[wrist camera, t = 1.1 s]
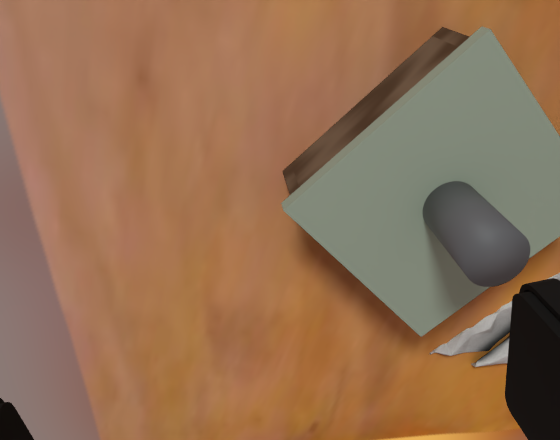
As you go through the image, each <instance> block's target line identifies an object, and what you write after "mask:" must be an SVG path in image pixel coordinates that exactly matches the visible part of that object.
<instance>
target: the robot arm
mask: <svg viewBox="0 0 560 440" xmlns="http://www.w3.org/2000/svg"><path fill="white" fill-rule="evenodd" d="M505 398H506V403H507V406H508V408H509V410H510V412H511V414H512V416H513V417H514V419H515V420H516V422H517V423H518V425H519V426H520V428H521V429H522V431H523V432H524V434H525V436H526V437H527V439H528V440H560V280H558V279H555V278H551V279H547V280H542V281H537V282H532V283H528V284H524V285H522V287H521V288H520V292H519V294H515V295H514V296H513V299H512V310H511V323H510V336H509V349H508V361H507V374H506V387H505ZM0 440H34V439H33V437H32V435H31V434H30V433H29V430H28V429H27V427H26V425H25V424H24V422H23V420H22V419H21V417H20V415H19V414H18V412H17V410H16V409H15V407H14V406H13V405H12V403H10V402H4V401H3V400H2V399H1V398H0Z"/></svg>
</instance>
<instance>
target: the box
mask: <svg viewBox="0 0 560 440" xmlns="http://www.w3.org/2000/svg"><path fill="white" fill-rule="evenodd" d="M468 38H469V36H466V35H463V34H460V33H458V32H455V31H452V30H449V29H447V28H444V27H442V28H441V29H440V30H439V31H438V32H436V33H435V34H434V35H433V36H432V37H431V38H430V39H429V40H428V41H427V42H425V43H424V44H423V45H422V46H421V47H420V48H419V49H418V50H417V51H415V52H414V53H413V54H412V55H411V56H410V57H409V58H408V59H407V60H405V61H404V62H403V63H402V64H401V65H400V66H399V67H398V68H397V69H395V70H394V71H393V72H392V73H391V74H390V75H389V76H388V77H387V78H386V79H384V80H383V81H382V82H381V83H380V84H379V85H378V86H377V87H376V88H374V89H373V90H372V91H371V92H370V93H369V94H368V95H367V96H366V97H364V98H363V99H362V100H361V101H360V102H359V103H358V104H357V105H356V106H354V107H353V108H352V109H351V110H350V111H349V112H348V113H347V114H346V115H344V116H343V117H342V118H341V119H340V120H339V121H338V122H337V123H336V124H335V125H333V126H332V127H331V128H330V129H329V130H328V131H327V132H326V133H325V134H323V135H322V136H321V137H320V138H319V139H318V140H317V141H316V142H315V143H313V144H312V145H311V146H310V147H309V148H308V149H307V150H306V151H305V152H303V153H302V154H301V155H300V156H299V157H298V158H297V159H296V160H295V161H293V162H292V163H291V164H290V165H289V166H288V167H287V168H286V169H285V170H284V171H283V174H284V177H285V181H286V184H287V187H288V190H289V193H290V195H291V194H292V193H293V192H294V191H296V190H297V189H298V188H299V187H300V186H301V185H302V184H304V183H305V182H306V181H307V180H308V179H309V178H310V177H311V176H313V175H314V174H315V173H316V172H317V171H318V170H319V169H321V168H322V167H323V166H324V165H325V164H326V163H327V162H328V161H330V160H331V159H332V158H333V157H334V156H335V155H336V154H338V153H339V152H340V151H341V150H342V149H343V148H344V147H345V146H347V145H348V144H349V143H350V142H351V141H352V140H353V139H355V138H356V137H357V136H358V135H359V134H360V133H361V132H363V131H364V130H365V129H366V128H367V127H368V126H369V125H370V124H372V123H373V122H374V121H375V120H376V119H377V118H378V117H380V116H381V115H382V114H383V113H384V112H385V111H386V110H387V109H389V108H390V107H391V106H392V105H393V104H394V103H395V102H397V101H398V100H399V99H400V98H401V97H402V96H403V95H404V94H406V93H407V92H408V91H409V90H410V89H411V88H412V87H414V86H415V85H416V84H417V83H418V82H419V81H420V80H421V79H423V78H424V77H425V76H426V75H427V74H428V73H429V72H431V71H432V70H433V69H434V68H435V67H436V66H437V65H438V64H440V63H441V62H442V61H443V60H444V59H445V58H446V57H448V56H449V55H450V54H451V53H452V52H453V51H454V50H456V49H457V48H458V47H459V46H460V45H461V44H462V43H463V42H465V41H466V40H467V39H468Z"/></svg>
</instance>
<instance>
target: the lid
mask: <svg viewBox="0 0 560 440" xmlns="http://www.w3.org/2000/svg"><path fill="white" fill-rule="evenodd" d="M282 207H283V210H284V211H285V212H286V213H287V214H288V215H289V216H290V217H291V218H292V219H293V220H294V221H295V222H297V223H298V224H299V225H300V226H301V227H302V228H303V229H304V230H305V231H306V232H307V233H309V234H310V235H311V236H312V237H313V238H314V239H315V240H316V241H317V242H318V243H319V244H320V245H322V246H323V247H324V248H325V249H326V250H327V251H328V252H329V253H330V254H331V255H332V256H334V257H335V258H336V259H337V260H338V261H339V262H340V263H341V264H342V265H343V266H344V267H345V268H347V269H348V270H349V271H350V272H351V273H352V274H353V275H354V276H355V277H356V278H357V279H359V280H360V281H361V282H362V283H363V284H364V285H365V286H366V287H367V288H368V289H369V290H370V291H372V292H373V293H374V294H375V295H376V296H377V297H378V298H379V299H380V300H381V301H382V302H384V303H385V304H386V305H387V306H388V307H389V308H390V309H391V310H392V311H393V312H394V313H396V314H397V315H398V316H399V317H400V318H401V319H402V320H403V321H404V322H405V323H406V324H407V325H409V326H410V327H411V328H412V329H413V330H414V331H415V332H416V333H417V334H418V335H419V336H421V337H422V336H423V335H424V334H426V333H427V332H429V331H430V330H431V329H433V328H434V327H435V326H437V325H438V324H440V323H441V322H442V321H444V320H445V319H446V318H448V317H449V316H451V315H452V314H453V313H455V312H456V311H457V310H459V309H460V308H462V307H463V306H464V305H466V304H467V303H469V302H470V301H471V300H473V299H474V298H475V297H477V296H478V295H480V294H481V293H482V292H484V291H485V290H486V289H488V288H489V287H493V286H498V285H501V284H504V283H506V282H508V281H510V280H511V279H513V278H514V277H515V276H517V275H518V274H519V273H520V272H521V271H522V270H523V268H524V267H525V265H526V264H527V262H528V259H529V258H530V257H532V256H533V255H535V254H536V253H537V252H539V251H540V250H541V249H543V248H544V247H546V246H547V245H548V244H550V243H551V242H553V241H554V240H555V239H557V238H558V237H559V236H560V136H559V135H558V133H557V132H556V130H555V128H554V127H553V125H552V124H551V122H550V121H549V119H548V118H547V116H546V115H545V113H544V111H543V110H542V108H541V107H540V105H539V104H538V102H537V101H536V99H535V98H534V96H533V94H532V93H531V91H530V90H529V88H528V87H527V85H526V84H525V82H524V81H523V79H522V77H521V76H520V74H519V73H518V71H517V70H516V68H515V67H514V65H513V64H512V62H511V60H510V59H509V57H508V56H507V54H506V53H505V51H504V50H503V48H502V46H501V45H500V43H499V42H498V40H497V39H496V37H495V36H494V34H493V33H492V31H491V29H488V28H485V27H480V28H479V29H478V30H477V31H476V32H475V33H474V34H473V35H471V36H470V37H469V38H468V39H467V40H466V41H465V42H463V43H462V44H461V45H460V46H459V47H458V48H457V49H456V50H454V51H453V52H452V53H451V54H450V55H449V56H448V57H446V58H445V59H444V60H443V61H442V62H441V63H440V64H438V65H437V66H436V67H435V68H434V69H433V70H432V71H431V72H429V73H428V74H427V75H426V76H425V77H424V78H423V79H421V80H420V81H419V82H418V83H417V84H416V85H415V86H414V87H412V88H411V89H410V90H409V91H408V92H407V93H406V94H404V95H403V96H402V97H401V98H400V99H399V100H398V101H397V102H395V103H394V104H393V105H392V106H391V107H390V108H389V109H387V110H386V111H385V112H384V113H383V114H382V115H381V116H380V117H378V118H377V119H376V120H375V121H374V122H373V123H372V124H370V125H369V126H368V127H367V128H366V129H365V130H364V131H363V132H361V133H360V134H359V135H358V136H357V137H356V138H355V139H353V140H352V141H351V142H350V143H349V144H348V145H347V146H345V147H344V148H343V149H342V150H341V151H340V152H339V153H338V154H336V155H335V156H334V157H333V158H332V159H331V160H330V161H328V162H327V163H326V164H325V165H324V166H323V167H322V168H321V169H319V170H318V171H317V172H316V173H315V174H314V175H313V176H311V177H310V178H309V179H308V180H307V181H306V182H305V183H304V184H302V185H301V186H300V187H299V188H298V189H297V190H296V191H294V192H293V193H292V194H291V195H290V196H289V197H288V198H287V199H285V200H284V201H283V202H282Z"/></svg>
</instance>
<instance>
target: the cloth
mask: <svg viewBox="0 0 560 440" xmlns="http://www.w3.org/2000/svg"><path fill="white" fill-rule="evenodd" d="M551 278H555V279H558V280H560V273H559V274H557V275H555V276H553V277H551ZM551 278H549V279H551ZM511 310H512V301H511V302H509V303H508V304H506V305H504V306H502V307H501V308H500V309H499V310H498V311H497V312H495V313H493V314H491V315H489V316H487V317H485V318H484V319H482V320H481V321H480V322H479V323H477V324H476V325H475V326H474V327H472V328H467V329H466V330H464V331H463V332H461V333H460V334H458V335H457V336H455V337H454V338H452V339H451V340H450V341H449V342H448V343H446V344H443V345H440V346H439V347H437V348H436V349H435V350H433V351H432V352H430V354H432V353H435V352H436V353H440V354H443V355H450V356H452V355H456V354H460V353H464V352H477V351H489V350H490V349H491V348H492V347H493V346H494V345H495V344H496V343H497V342H498V341H499V340H500V339H502V338H503V337H504V336H506V335H507V334H508V333H509V332H510V323H511ZM508 349H509V337H508V338H507V339H506V340H505V341H504V342H502V343H501V344H500V345H499V346H497V347H496V348H494V349H493V350H492V351H490V352H489V353H488V354H486V355H485V356H484V357H482V358H481V359H479V360H478V361H477V363H471V365H473V366H475V367H478V366H486V365H494V364H501V363H507V361H508Z"/></svg>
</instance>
